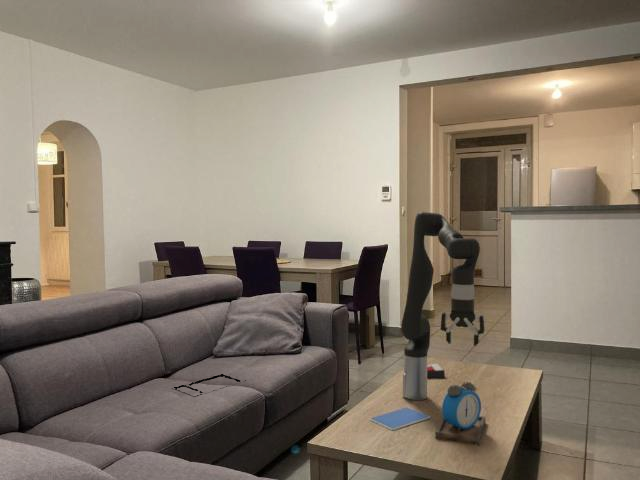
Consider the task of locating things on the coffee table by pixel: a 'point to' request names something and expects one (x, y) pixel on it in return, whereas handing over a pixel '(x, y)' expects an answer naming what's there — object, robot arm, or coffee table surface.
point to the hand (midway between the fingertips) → (462, 344)
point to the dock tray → (461, 432)
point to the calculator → (435, 371)
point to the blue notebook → (399, 418)
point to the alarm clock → (461, 406)
